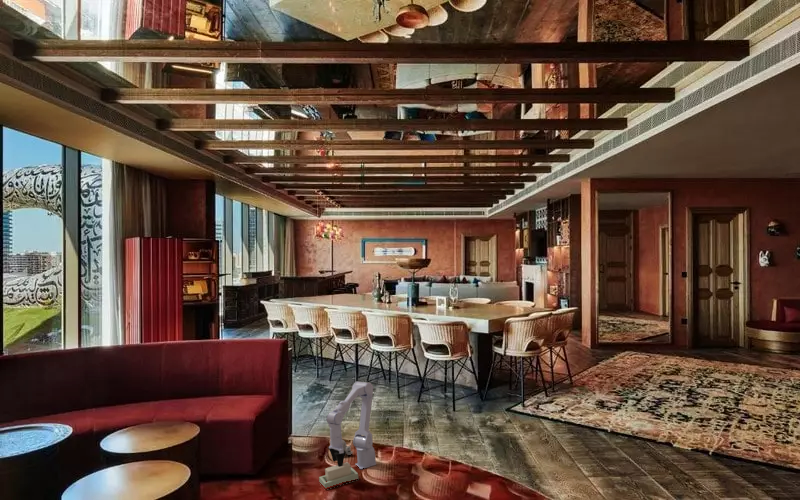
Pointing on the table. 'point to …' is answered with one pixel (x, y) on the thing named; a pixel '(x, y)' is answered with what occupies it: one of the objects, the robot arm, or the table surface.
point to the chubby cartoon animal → (346, 448)
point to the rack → (336, 481)
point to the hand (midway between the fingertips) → (337, 463)
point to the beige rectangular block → (337, 471)
